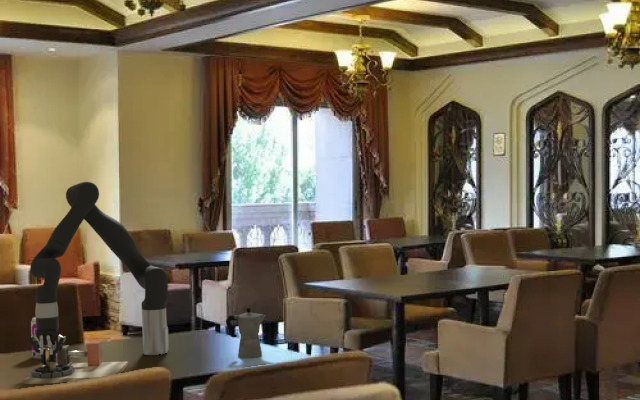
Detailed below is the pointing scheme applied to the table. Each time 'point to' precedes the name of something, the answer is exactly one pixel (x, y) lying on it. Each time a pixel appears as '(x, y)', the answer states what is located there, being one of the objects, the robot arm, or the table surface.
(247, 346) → the coffeepot
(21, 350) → the table surface
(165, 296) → the robot arm
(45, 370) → the handwheel
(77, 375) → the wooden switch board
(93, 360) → the copper cube on rod
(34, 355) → the supplement can
